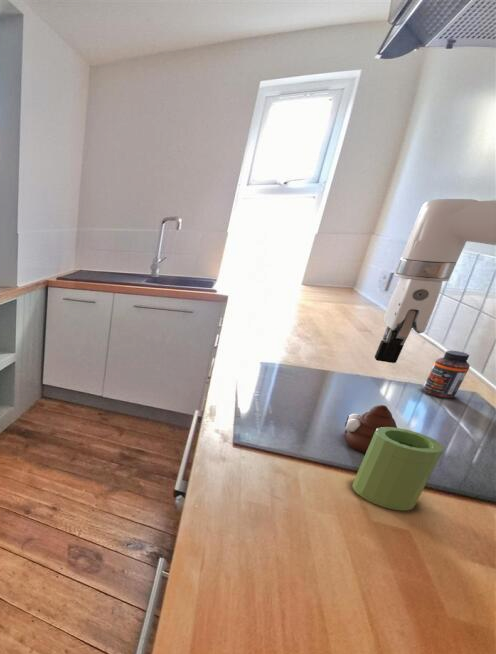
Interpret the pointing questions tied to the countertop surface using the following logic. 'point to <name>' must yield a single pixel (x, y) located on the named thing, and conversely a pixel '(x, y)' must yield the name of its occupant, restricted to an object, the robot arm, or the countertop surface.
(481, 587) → the countertop surface
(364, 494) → the green pipe section
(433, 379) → the supplement bottle
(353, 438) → the poop emoji
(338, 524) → the countertop surface
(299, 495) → the countertop surface
